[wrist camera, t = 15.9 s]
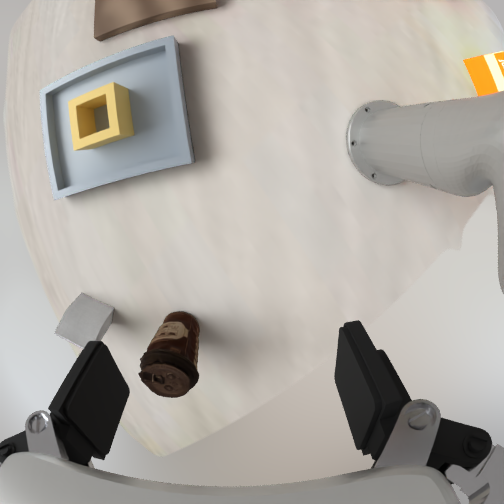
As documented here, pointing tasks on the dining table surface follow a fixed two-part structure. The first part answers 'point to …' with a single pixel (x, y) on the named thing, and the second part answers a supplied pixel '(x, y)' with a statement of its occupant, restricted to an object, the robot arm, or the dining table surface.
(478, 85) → the orange juice
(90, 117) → the collar
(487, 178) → the robot arm
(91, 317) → the grey house shaped block
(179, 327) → the coffee cup
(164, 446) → the dining table surface
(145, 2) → the board
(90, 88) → the tray
